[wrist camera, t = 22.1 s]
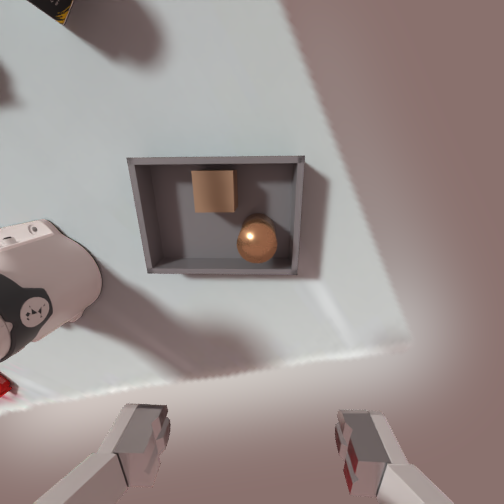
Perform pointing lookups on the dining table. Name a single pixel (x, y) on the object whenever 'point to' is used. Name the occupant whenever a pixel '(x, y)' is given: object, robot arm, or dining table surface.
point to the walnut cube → (215, 190)
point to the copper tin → (257, 239)
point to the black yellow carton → (54, 8)
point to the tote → (216, 213)
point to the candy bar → (4, 385)
